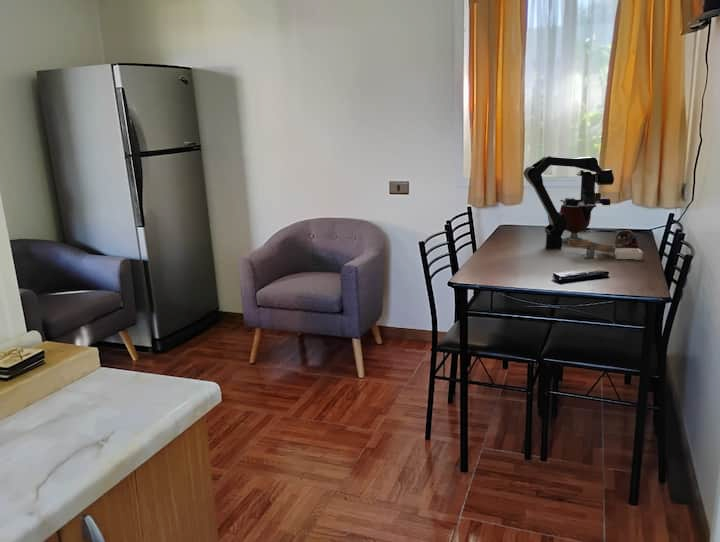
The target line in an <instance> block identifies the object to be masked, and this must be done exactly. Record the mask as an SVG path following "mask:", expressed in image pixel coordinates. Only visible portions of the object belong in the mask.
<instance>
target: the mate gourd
mask: <svg viewBox="0 0 720 542" xmlns="http://www.w3.org/2000/svg"><path fill="white" fill-rule="evenodd" d="M559 202H561V203H562V204H561V207H560V211H559V212H560V213H563V214H564V217H565V219H566V220H567V221H568V222H566V223H567V228H566V230H565V231H567V232H569V233H570V235H569V236H561V238H562V242H564V241H566V242H565V243H568V241H569V237H570V238H571V239H573V240H579V241H587V242H588V241H589V240H588V239H589V238H586V237H583V236H579V233H580V232H583V231H585V230H586V229H587V228H589V225H590V222H591V215H592V212H591V213H590V215H589V217H588V220H587V221H585V219H584V216H583V212H582V210H581V208H580V207H578V206H577V205H578V204H574V205H565V204H564V200H563V199H560V200H559ZM587 205H588V204H587ZM587 205H586V204H585V206H586V212H587Z"/></svg>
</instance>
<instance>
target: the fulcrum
mask: <svg viewBox="0 0 720 542" xmlns="http://www.w3.org/2000/svg"><path fill="white" fill-rule="evenodd" d="M595 253H596V250H595V247H590V249H586V253H585V254H582V256H584V257H583V258H584V259H585V260H586V259H598V260H600V259H599V257H598V255H596V254H595Z"/></svg>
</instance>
